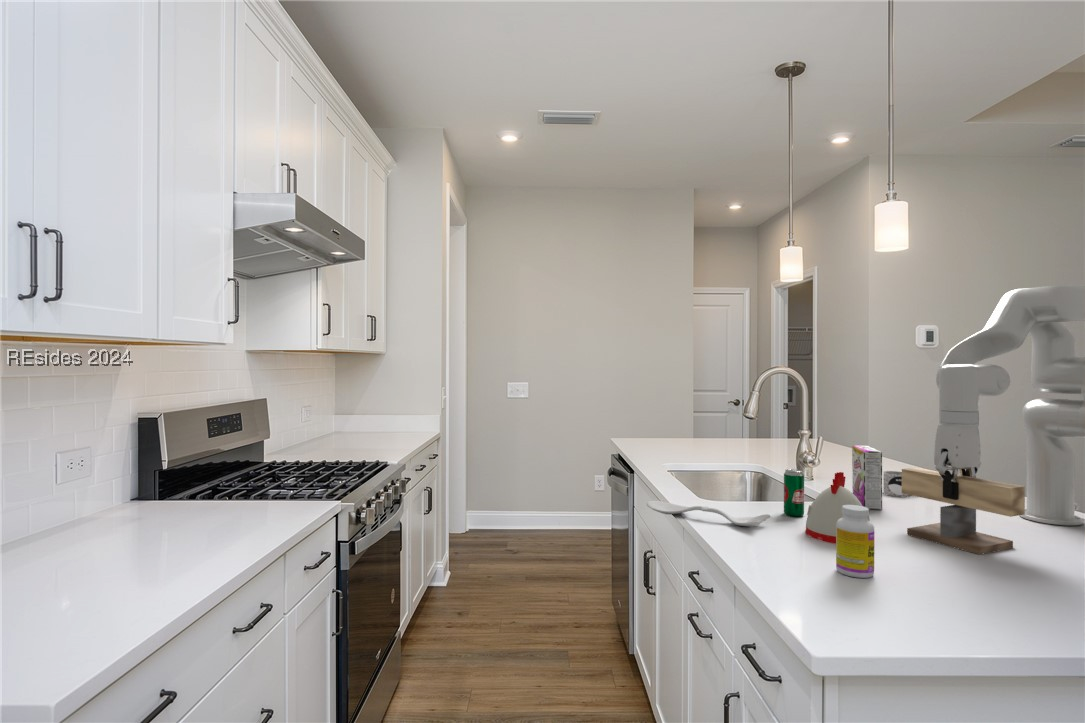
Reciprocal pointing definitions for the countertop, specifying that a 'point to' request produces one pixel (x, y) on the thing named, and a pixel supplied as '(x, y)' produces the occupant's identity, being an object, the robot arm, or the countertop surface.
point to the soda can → (794, 492)
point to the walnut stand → (960, 531)
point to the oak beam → (967, 492)
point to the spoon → (676, 509)
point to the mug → (893, 483)
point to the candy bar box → (867, 476)
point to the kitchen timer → (829, 510)
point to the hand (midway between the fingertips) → (958, 496)
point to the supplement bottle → (855, 542)
